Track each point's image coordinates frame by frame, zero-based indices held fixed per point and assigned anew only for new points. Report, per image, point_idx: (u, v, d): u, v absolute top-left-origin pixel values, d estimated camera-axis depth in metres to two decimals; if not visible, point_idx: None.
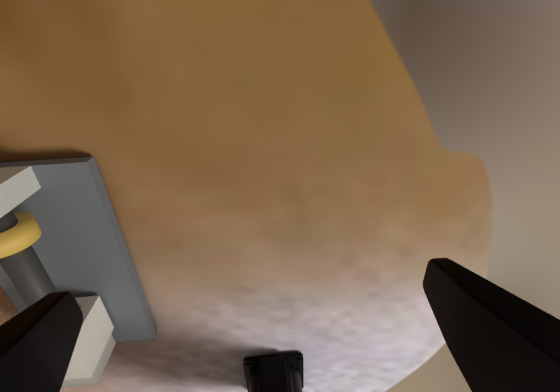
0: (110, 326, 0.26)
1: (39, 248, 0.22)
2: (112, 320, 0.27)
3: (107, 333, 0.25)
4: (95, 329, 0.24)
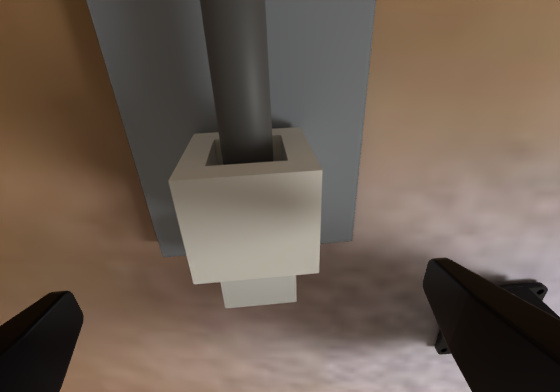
0: None
1: None
2: None
3: None
4: None
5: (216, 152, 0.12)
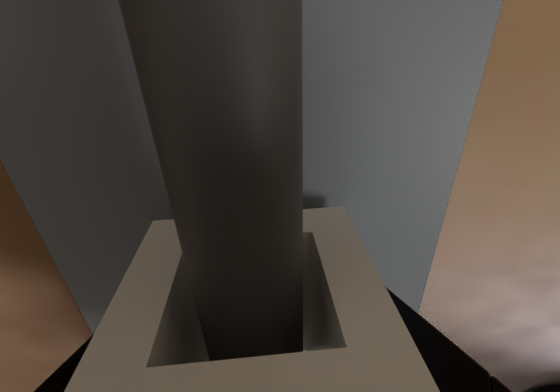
0: None
1: None
2: None
3: None
4: None
5: None
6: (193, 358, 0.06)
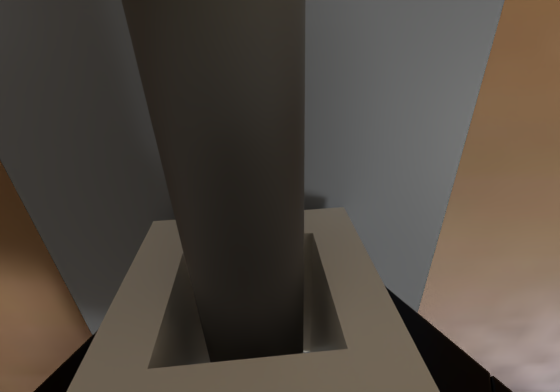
0: None
1: None
2: None
3: None
4: None
5: None
6: (194, 359, 0.06)
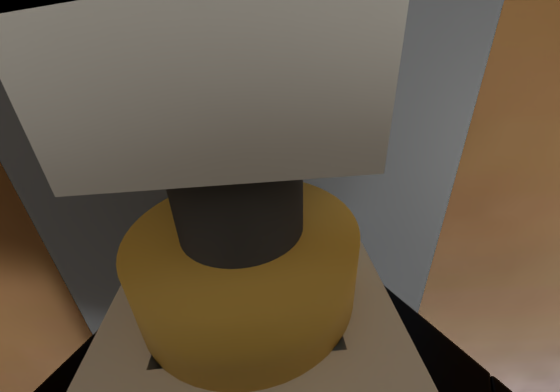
0: None
1: None
2: None
3: None
4: None
5: None
6: None
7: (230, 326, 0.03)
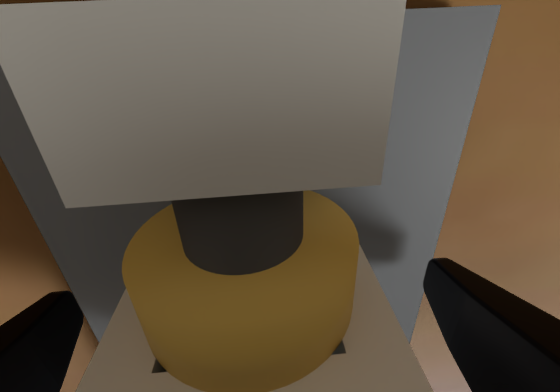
0: None
1: None
2: None
3: None
4: None
5: None
6: None
7: (233, 331, 0.03)
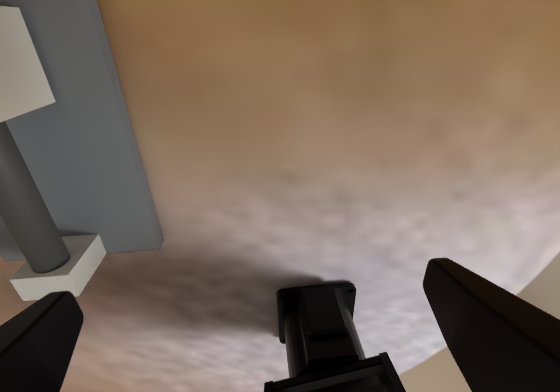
0: (46, 90, 0.14)
1: None
2: (101, 213, 0.19)
3: (39, 95, 0.14)
4: (6, 54, 0.12)
5: None
6: None
7: None
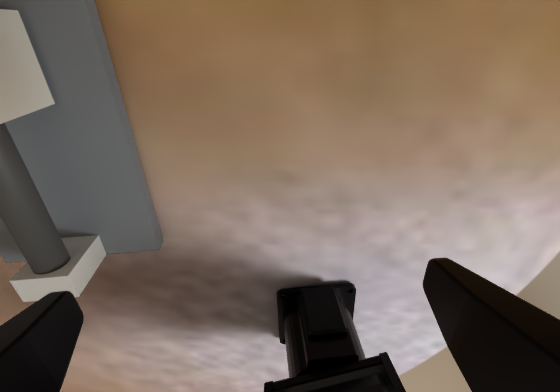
0: (46, 92, 0.14)
1: None
2: (100, 214, 0.19)
3: (38, 97, 0.14)
4: (5, 56, 0.12)
5: None
6: None
7: None
